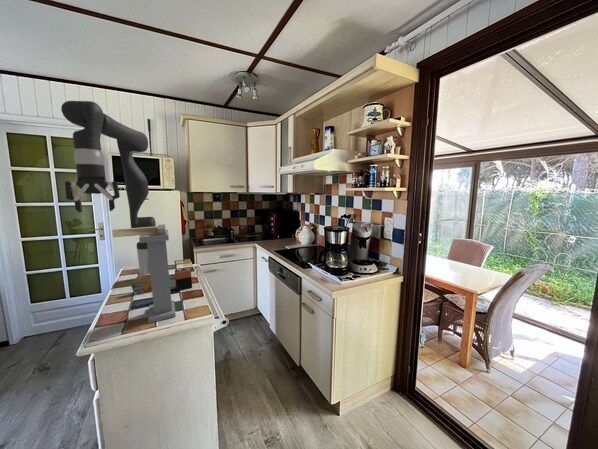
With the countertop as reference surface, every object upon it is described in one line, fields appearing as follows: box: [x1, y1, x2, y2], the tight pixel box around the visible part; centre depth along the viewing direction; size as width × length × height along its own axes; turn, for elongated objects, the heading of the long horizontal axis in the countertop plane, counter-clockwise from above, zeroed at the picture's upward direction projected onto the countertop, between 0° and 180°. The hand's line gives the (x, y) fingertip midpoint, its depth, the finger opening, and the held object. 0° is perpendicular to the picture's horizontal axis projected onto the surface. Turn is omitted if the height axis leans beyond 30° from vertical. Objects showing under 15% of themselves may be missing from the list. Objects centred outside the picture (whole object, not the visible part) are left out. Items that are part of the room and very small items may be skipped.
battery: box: [174, 266, 193, 291], centre depth 122 cm, size 4×7×10 cm, turn 123°
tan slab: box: [111, 224, 166, 238], centre depth 92 cm, size 10×16×2 cm, turn 118°
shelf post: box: [138, 229, 177, 324], centre depth 97 cm, size 12×9×32 cm
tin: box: [131, 274, 152, 295], centre depth 119 cm, size 15×3×8 cm, turn 123°
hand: (96, 211), depth 88 cm, fingers open, 8 cm apart
